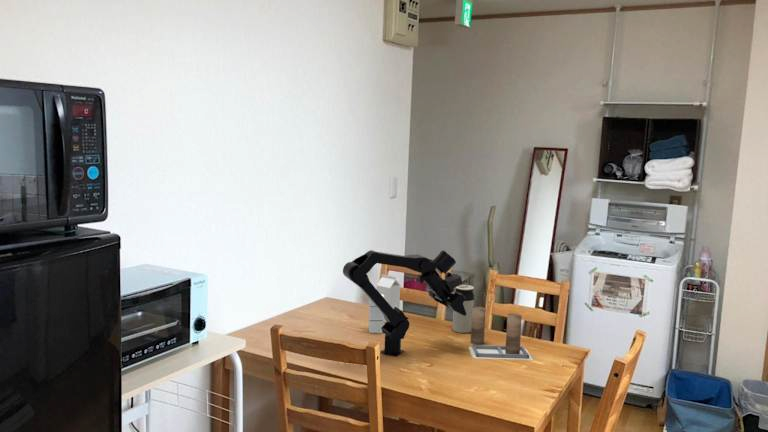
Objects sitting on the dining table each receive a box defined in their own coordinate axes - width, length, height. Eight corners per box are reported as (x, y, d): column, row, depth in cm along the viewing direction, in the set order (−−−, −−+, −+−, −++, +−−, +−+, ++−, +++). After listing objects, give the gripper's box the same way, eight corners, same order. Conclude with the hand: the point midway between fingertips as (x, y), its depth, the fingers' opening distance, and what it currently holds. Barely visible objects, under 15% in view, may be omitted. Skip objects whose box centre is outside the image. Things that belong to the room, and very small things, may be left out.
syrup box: (383, 333, 249) (384, 297, 247) (368, 332, 249) (369, 296, 247) (383, 329, 255) (384, 293, 253) (369, 328, 255) (370, 293, 253)
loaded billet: (517, 356, 223) (519, 318, 222) (503, 354, 226) (505, 315, 224) (521, 353, 228) (523, 314, 226) (508, 350, 230) (510, 312, 229)
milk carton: (389, 323, 263) (390, 278, 261) (375, 320, 267) (376, 275, 265) (399, 319, 268) (400, 275, 266) (385, 316, 273) (387, 273, 270)
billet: (480, 348, 235) (482, 311, 233) (468, 345, 238) (470, 309, 236) (485, 344, 239) (487, 308, 238) (473, 342, 242) (475, 306, 240)
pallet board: (472, 360, 221) (473, 354, 221) (468, 349, 233) (468, 343, 233) (533, 362, 221) (533, 356, 221) (525, 351, 233) (525, 345, 233)
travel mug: (449, 331, 255) (451, 287, 253) (456, 326, 262) (458, 283, 260) (468, 334, 251) (470, 290, 249) (475, 329, 258) (477, 286, 256)
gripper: (463, 272, 223) (487, 302, 228) (438, 262, 240) (461, 290, 246) (441, 294, 221) (466, 324, 226) (418, 282, 238) (441, 311, 243)
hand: (459, 311), depth 235 cm, fingers open, 9 cm apart
